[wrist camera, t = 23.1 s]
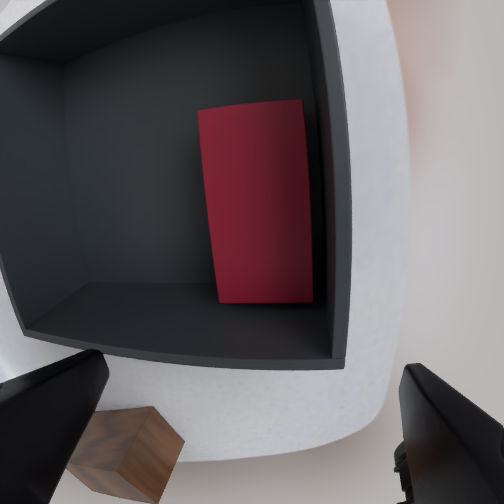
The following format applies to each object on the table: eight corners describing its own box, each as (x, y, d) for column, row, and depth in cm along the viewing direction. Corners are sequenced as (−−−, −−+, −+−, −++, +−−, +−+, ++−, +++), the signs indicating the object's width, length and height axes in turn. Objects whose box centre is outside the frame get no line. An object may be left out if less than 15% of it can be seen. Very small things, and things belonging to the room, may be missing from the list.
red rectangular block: (312, 273, 19) (313, 303, 15) (234, 275, 20) (218, 303, 16) (303, 110, 16) (302, 98, 12) (218, 118, 17) (196, 110, 13)
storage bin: (331, 285, 20) (344, 369, 12) (91, 285, 23) (23, 336, 15) (309, -1, 14) (308, -81, 6) (64, 62, 17) (-15, 48, 9)
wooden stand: (153, 406, 27) (116, 471, 19) (185, 441, 28) (158, 504, 20) (92, 411, 30) (57, 460, 22) (121, 442, 31) (92, 491, 23)
